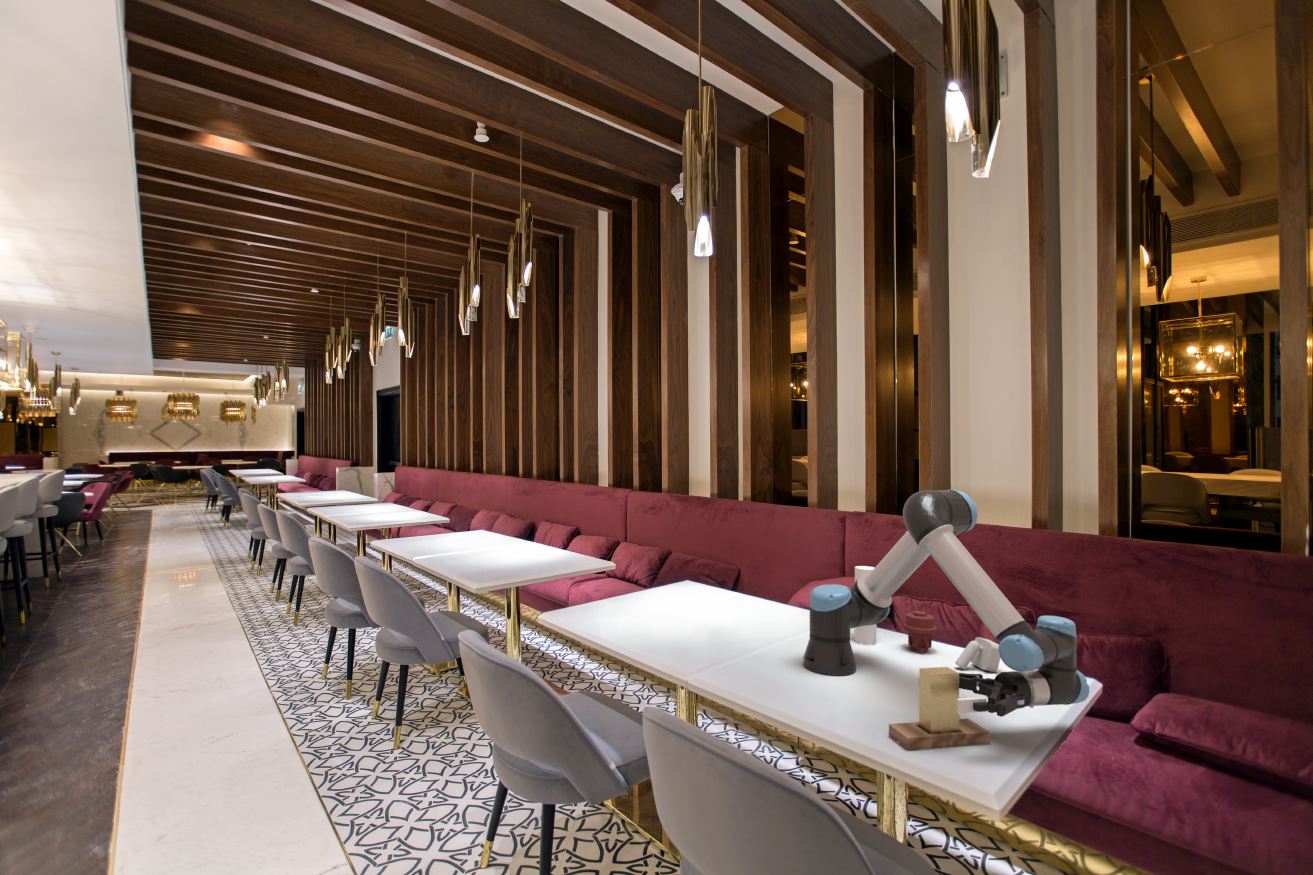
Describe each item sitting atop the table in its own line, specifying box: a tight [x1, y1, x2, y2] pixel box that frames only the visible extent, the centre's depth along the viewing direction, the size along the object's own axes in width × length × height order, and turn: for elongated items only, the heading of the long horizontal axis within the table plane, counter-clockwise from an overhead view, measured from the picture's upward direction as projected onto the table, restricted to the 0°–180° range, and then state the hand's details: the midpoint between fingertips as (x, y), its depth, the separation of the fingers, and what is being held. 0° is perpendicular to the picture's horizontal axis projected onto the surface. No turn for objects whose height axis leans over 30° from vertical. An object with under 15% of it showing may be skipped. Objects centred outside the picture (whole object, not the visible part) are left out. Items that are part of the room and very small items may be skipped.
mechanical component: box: [902, 610, 938, 655], centre depth 197 cm, size 12×10×10 cm
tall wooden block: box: [918, 666, 960, 734], centre depth 134 cm, size 7×4×15 cm, turn 101°
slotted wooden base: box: [888, 718, 991, 751], centre depth 133 cm, size 20×7×2 cm, turn 101°
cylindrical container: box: [853, 565, 878, 645], centre depth 206 cm, size 7×7×25 cm
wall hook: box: [954, 636, 1001, 673], centre depth 180 cm, size 8×10×10 cm
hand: (936, 693), depth 133 cm, fingers open, 13 cm apart
